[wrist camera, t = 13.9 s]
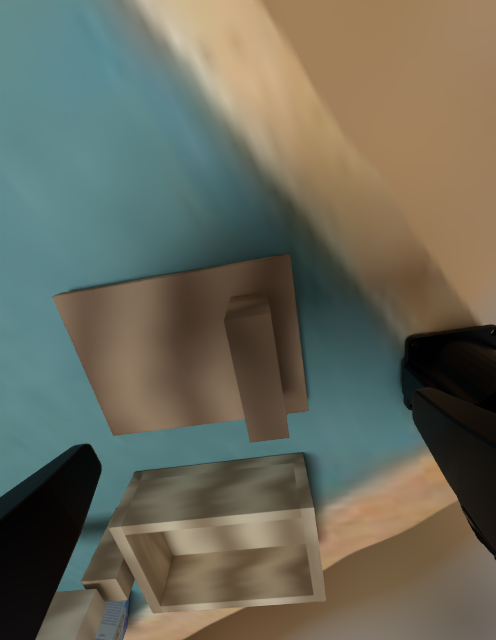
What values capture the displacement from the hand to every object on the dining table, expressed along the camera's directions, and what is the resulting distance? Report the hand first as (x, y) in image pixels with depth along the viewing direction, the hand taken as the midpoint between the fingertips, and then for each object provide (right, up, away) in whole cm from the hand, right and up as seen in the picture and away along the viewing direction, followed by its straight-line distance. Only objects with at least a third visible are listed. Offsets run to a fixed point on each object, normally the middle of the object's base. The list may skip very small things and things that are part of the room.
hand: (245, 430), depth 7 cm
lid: (-4, +1, +14) cm, 15 cm away
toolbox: (-4, -16, +20) cm, 26 cm away
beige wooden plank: (-16, -20, +15) cm, 30 cm away
